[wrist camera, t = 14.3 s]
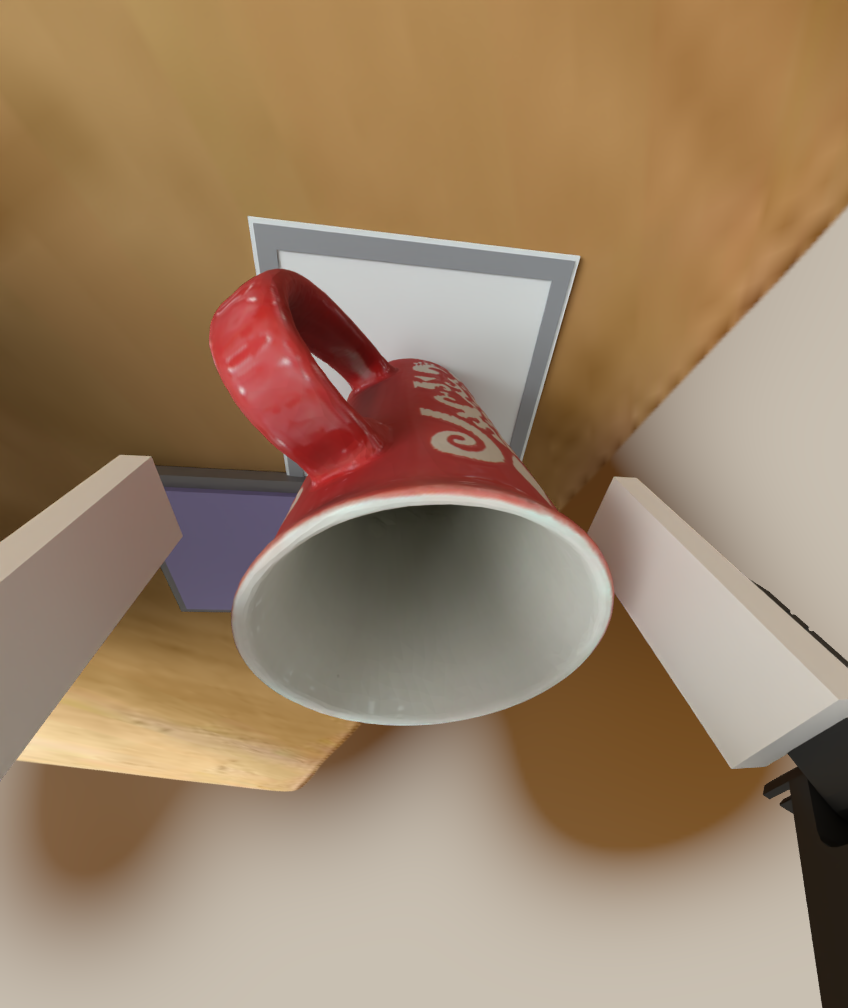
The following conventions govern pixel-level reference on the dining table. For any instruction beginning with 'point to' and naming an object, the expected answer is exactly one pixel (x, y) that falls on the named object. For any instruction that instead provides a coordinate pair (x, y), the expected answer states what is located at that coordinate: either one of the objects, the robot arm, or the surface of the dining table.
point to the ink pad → (221, 529)
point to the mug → (396, 530)
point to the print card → (436, 307)
